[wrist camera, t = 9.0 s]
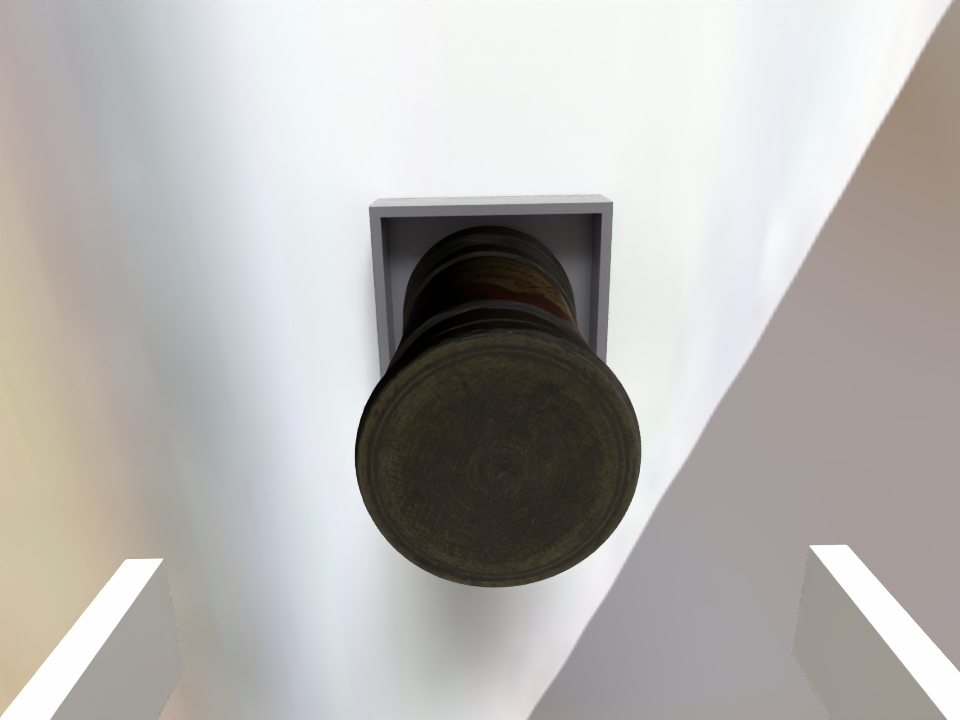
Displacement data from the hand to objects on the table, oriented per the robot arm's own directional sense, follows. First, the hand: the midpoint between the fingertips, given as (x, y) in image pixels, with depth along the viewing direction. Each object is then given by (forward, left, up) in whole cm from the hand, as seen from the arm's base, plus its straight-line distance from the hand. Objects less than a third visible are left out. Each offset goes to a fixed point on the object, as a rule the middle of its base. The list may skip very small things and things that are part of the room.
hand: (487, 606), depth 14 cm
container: (0, 0, -24) cm, 24 cm away
